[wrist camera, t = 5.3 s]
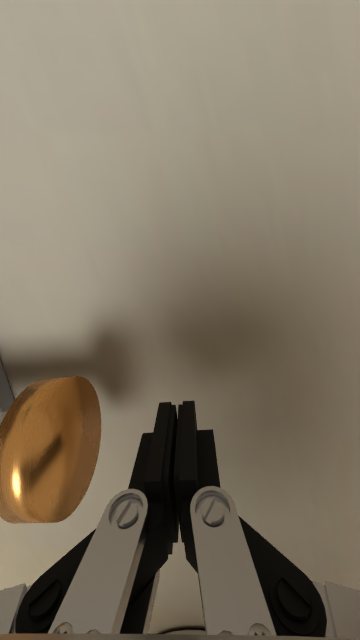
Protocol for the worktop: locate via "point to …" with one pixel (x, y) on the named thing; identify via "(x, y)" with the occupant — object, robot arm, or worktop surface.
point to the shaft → (48, 450)
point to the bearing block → (5, 391)
